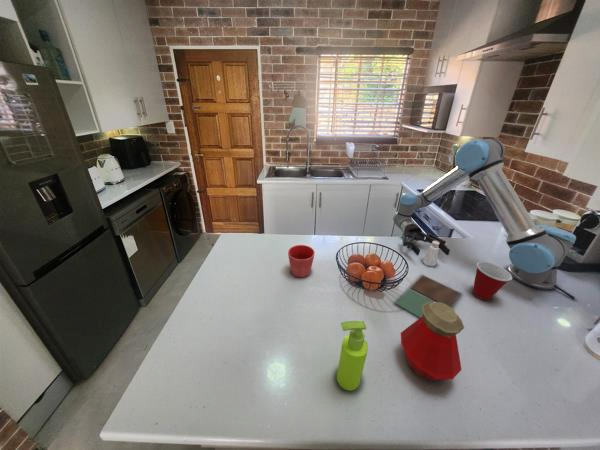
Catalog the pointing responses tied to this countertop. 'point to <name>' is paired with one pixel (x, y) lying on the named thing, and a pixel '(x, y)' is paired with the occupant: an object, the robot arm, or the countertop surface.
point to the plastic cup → (489, 280)
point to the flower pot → (301, 260)
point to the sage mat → (413, 303)
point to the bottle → (433, 343)
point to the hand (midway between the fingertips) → (433, 252)
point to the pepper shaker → (432, 254)
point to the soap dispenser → (352, 355)
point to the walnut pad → (435, 291)
